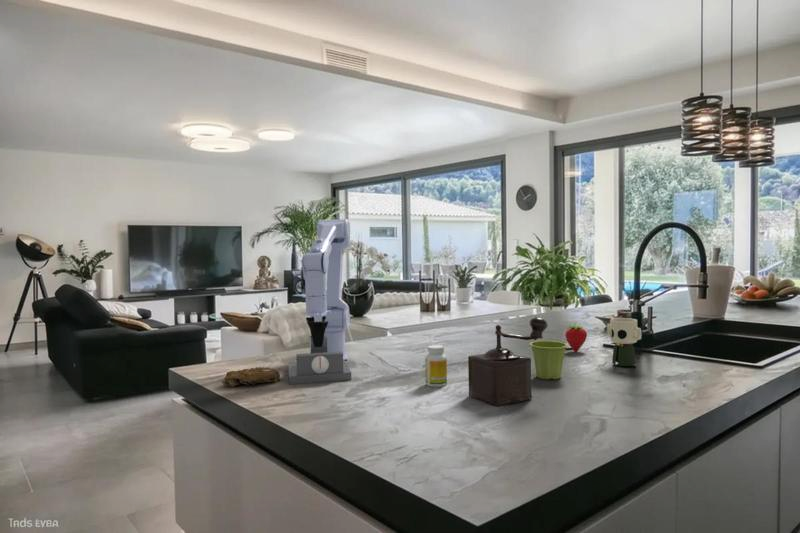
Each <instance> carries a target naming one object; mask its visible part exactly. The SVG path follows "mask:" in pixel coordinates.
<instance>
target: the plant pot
mask: <svg viewBox="0 0 800 533" xmlns="http://www.w3.org/2000/svg"><path fill="white" fill-rule="evenodd" d="M529 345H530V346H531V350H532V354H533V360H534V367H535V368H534V370H535V375H536V377H537V378H538V379H543V380H550V379H552V380H558V379H560V378H561V377H562V371H563V362H564V357H565V352H566V349H567V348H568V344H567V343H565V342H562V341H555V340H534V341H531V342H530V343H529Z"/></svg>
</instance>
